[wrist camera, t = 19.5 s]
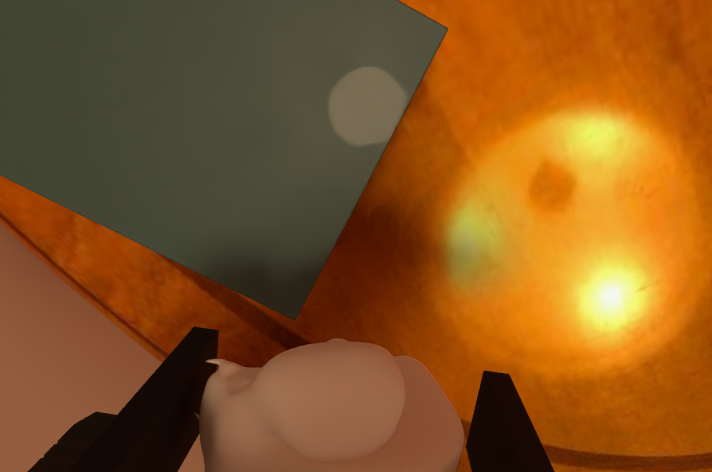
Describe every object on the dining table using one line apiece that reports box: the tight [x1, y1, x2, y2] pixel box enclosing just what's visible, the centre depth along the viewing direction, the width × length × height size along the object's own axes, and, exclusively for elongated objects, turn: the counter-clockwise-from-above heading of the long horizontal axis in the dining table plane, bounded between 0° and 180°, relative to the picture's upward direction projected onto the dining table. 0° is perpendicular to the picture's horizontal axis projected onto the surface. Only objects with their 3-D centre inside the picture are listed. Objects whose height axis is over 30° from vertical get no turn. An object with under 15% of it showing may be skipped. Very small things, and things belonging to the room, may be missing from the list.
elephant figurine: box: [195, 338, 464, 472], centre depth 12 cm, size 7×8×6 cm
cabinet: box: [0, 0, 448, 320], centre depth 24 cm, size 17×14×11 cm
